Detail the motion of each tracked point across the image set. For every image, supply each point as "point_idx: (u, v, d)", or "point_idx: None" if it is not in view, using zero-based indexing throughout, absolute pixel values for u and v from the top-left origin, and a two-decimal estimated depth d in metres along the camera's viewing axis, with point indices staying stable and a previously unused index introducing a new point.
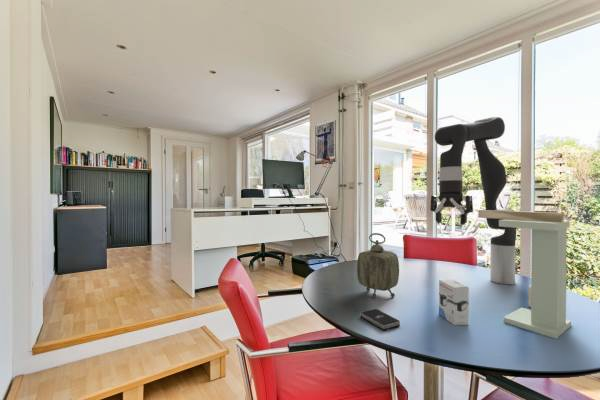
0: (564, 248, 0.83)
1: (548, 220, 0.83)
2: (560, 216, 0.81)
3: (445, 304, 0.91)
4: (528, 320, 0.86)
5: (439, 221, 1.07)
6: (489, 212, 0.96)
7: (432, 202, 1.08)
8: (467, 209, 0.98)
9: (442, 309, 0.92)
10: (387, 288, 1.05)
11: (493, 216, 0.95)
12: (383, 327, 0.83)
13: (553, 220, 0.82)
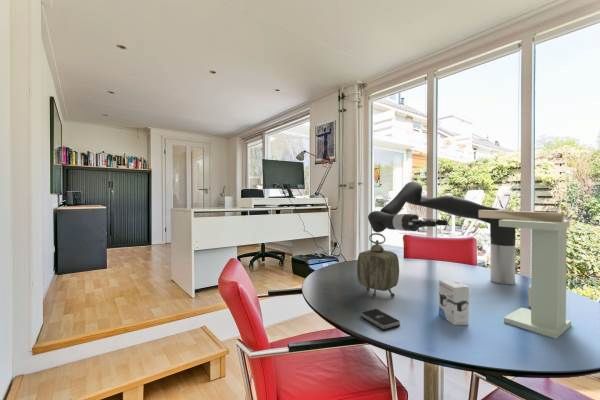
0: (564, 248, 0.83)
1: (548, 220, 0.83)
2: (560, 216, 0.81)
3: (445, 304, 0.91)
4: (528, 320, 0.86)
5: None
6: (489, 212, 0.96)
7: (414, 220, 1.15)
8: (436, 219, 1.20)
9: (442, 309, 0.92)
10: (387, 288, 1.05)
11: (493, 216, 0.95)
12: (383, 327, 0.83)
13: (553, 220, 0.82)
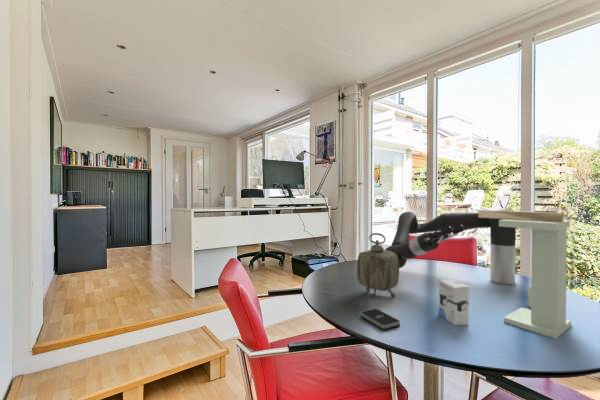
0: (564, 248, 0.83)
1: (548, 220, 0.83)
2: (560, 216, 0.81)
3: (445, 304, 0.91)
4: (528, 320, 0.86)
5: None
6: (489, 212, 0.96)
7: None
8: None
9: (442, 309, 0.92)
10: (387, 288, 1.05)
11: (493, 216, 0.95)
12: (383, 327, 0.83)
13: (553, 220, 0.82)
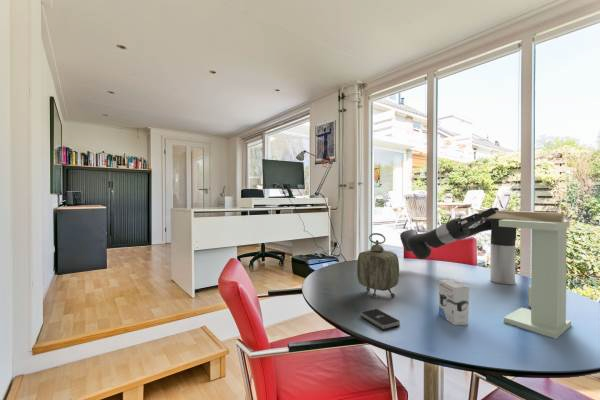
0: (564, 248, 0.83)
1: (548, 220, 0.83)
2: (560, 216, 0.81)
3: (445, 304, 0.91)
4: (528, 320, 0.86)
5: None
6: None
7: None
8: None
9: (442, 309, 0.92)
10: (387, 288, 1.05)
11: (493, 216, 0.95)
12: (383, 327, 0.83)
13: (553, 220, 0.82)
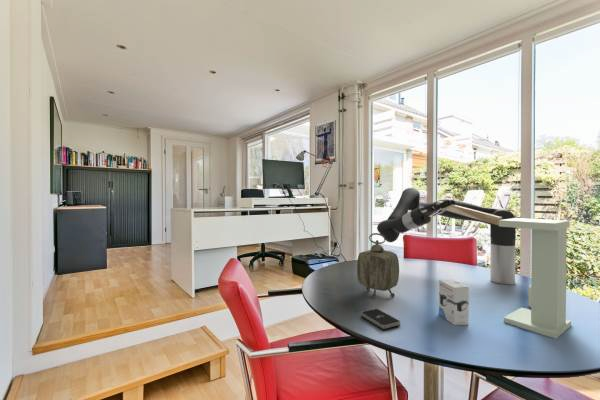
0: (564, 248, 0.83)
1: (487, 221, 0.97)
2: (497, 220, 0.95)
3: (445, 304, 0.91)
4: (528, 320, 0.86)
5: None
6: None
7: None
8: None
9: (442, 309, 0.92)
10: (387, 288, 1.05)
11: (447, 209, 1.08)
12: (383, 327, 0.83)
13: (491, 222, 0.96)
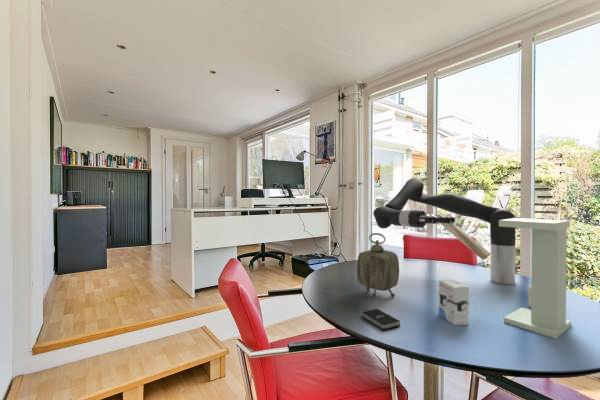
0: (564, 248, 0.83)
1: (476, 253, 1.00)
2: (485, 256, 0.98)
3: (445, 304, 0.91)
4: (528, 320, 0.86)
5: None
6: None
7: (426, 217, 1.12)
8: None
9: (442, 309, 0.92)
10: (387, 288, 1.05)
11: (444, 225, 1.09)
12: (383, 327, 0.83)
13: (479, 255, 0.99)
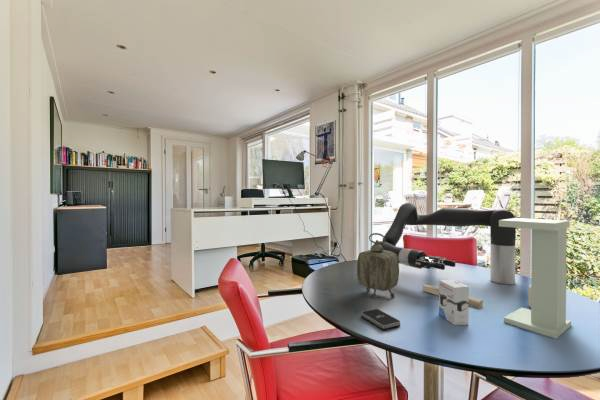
0: (564, 248, 0.83)
1: (470, 305, 1.02)
2: (478, 304, 0.99)
3: (445, 304, 0.91)
4: (528, 320, 0.86)
5: None
6: (430, 289, 1.15)
7: (422, 260, 1.12)
8: (444, 258, 1.17)
9: (442, 309, 0.92)
10: (387, 288, 1.05)
11: (433, 293, 1.14)
12: (383, 327, 0.83)
13: (473, 306, 1.01)
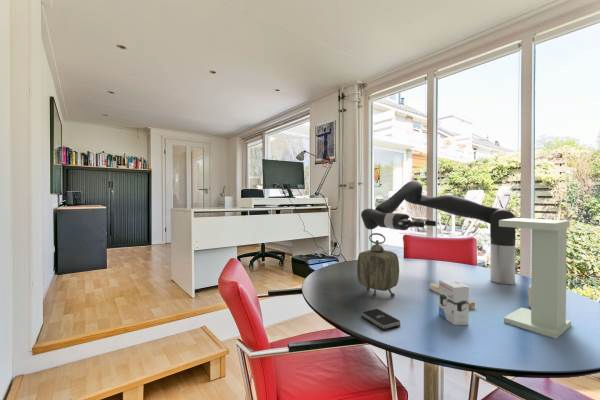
0: (564, 248, 0.83)
1: None
2: None
3: (445, 304, 0.91)
4: (528, 320, 0.86)
5: None
6: (435, 287, 1.16)
7: (404, 220, 1.19)
8: (426, 219, 1.24)
9: (442, 309, 0.92)
10: (387, 288, 1.05)
11: (436, 291, 1.15)
12: (383, 327, 0.83)
13: None
